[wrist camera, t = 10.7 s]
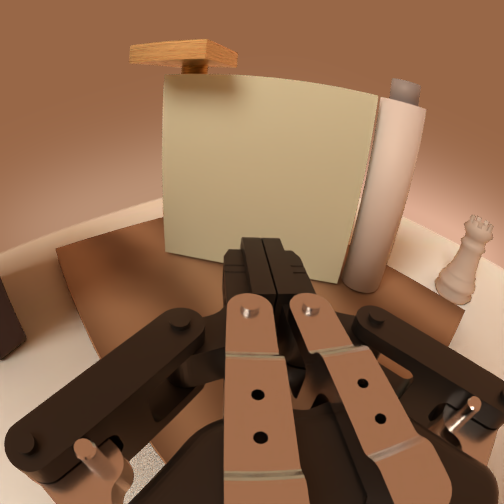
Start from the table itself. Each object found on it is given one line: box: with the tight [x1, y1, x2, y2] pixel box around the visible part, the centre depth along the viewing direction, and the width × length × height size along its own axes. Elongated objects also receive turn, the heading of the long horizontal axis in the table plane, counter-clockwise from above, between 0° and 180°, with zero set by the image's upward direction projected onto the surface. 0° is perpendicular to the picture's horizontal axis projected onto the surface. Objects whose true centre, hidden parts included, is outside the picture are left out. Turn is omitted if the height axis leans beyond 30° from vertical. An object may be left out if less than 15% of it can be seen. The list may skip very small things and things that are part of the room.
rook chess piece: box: [435, 215, 493, 305], centre depth 23 cm, size 4×4×8 cm
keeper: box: [129, 39, 238, 74], centre depth 21 cm, size 7×5×18 cm
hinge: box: [162, 74, 426, 293], centre depth 20 cm, size 18×3×16 cm, turn 78°
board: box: [56, 217, 465, 464], centre depth 23 cm, size 24×28×1 cm
